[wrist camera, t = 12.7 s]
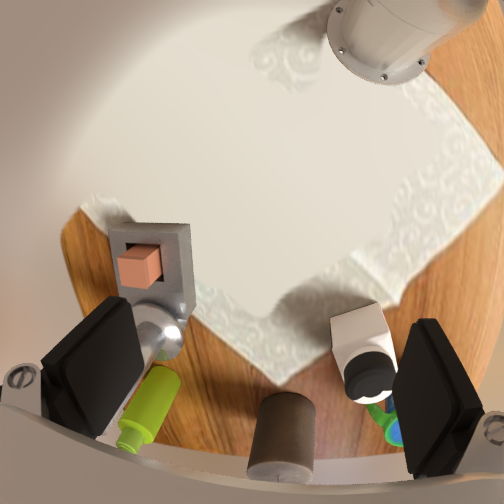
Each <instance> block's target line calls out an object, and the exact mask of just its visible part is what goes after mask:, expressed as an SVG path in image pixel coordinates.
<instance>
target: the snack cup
mask: <svg viewBox="0 0 504 504" xmlns="http://www.w3.org/2000/svg"><path fill="white" fill-rule="evenodd" d="M396 373H397V372H396ZM366 406H367V409H368V411H369V413H370V415H371V417H372V418H373V419H374V420H375V422H376V423H377V424H378V425H380V426H381V427H382V428H384V429H383V431H384V437H385V439H386V441H387V442H388V443H390V444H392V445H394V446H399V447H403V442H402V437H401V432H400V427H399V423H398V418H397V414H396V409H395V405H394V401H393V397H392V393H391V394H390V395H389V396H388V397H386V398H385V407H386V408H385V412H384V411H383V410H382V409H381V408H380V407H379V406H378V405H377V404H376V403H371V404H366Z"/></svg>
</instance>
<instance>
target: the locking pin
mask: <svg viewBox="0 0 504 504" xmlns="http://www.w3.org/2000/svg"><path fill="white" fill-rule="evenodd" d="M117 261H118V268H119V274H120V280H121V286H128V287H135V288H142V289H148V288H149V287H150V286H151V285H152V283H153V282H154V281H155V280H156V279H157V278H158V277H159V276H160V275H161V274H162V273H163V266H162V258H161V248H160V244H143V243H138V244H136V245H135V246H133V247H132V248H130V249H129V250H127V251H126V252H125V253H123V254H122V255H120V256H119V257H118V258H117Z"/></svg>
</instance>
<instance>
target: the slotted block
mask: <svg viewBox="0 0 504 504" xmlns="http://www.w3.org/2000/svg"><path fill="white" fill-rule="evenodd" d="M108 233H109V240H110V247H111V253H112V259H113V265H114V271H115V277H116V282H117V287H118V292H119V297H124V298H126V299H127V301H128V302H129V303H130V304H131V306H132V311H133V316H134V320H135V325H136V329H137V334H138V338H139V342H140V346H141V351H142V355H143V359H144V363H145V364H144V370H143V372H142V374H141V375H140V377H139V378H138V380H137V381H136V383H135V384H134V386H133V387H132V389H131V390H130V392H129V393H128V395H127V397H126V398H125V400H124V401H123V403H122V404H121V406H120V407H119V409H118V410H117V412H116V414H115V415H114V417H113V418H112V420H111V421H110V423H109V424H108V426H107V428H106V429H105V431H104V432H103V434H102V436H103V435H106V434H107V433H108V431H109V430H110V428H111V427H112V425H113V423H114V422H115V420H116V419H117V417H118V415H119V414H120V412H121V411H122V409H123V408H124V406H125V404H126V403H127V401H128V400H129V398H130V397H131V395H132V393H133V392H134V390H135V389H136V387H137V386H138V384H139V383H140V381H141V379H142V378H143V376H144V375H145V373H146V372H147V370H148V369H149V367H150V365H151V364H152V362H153V361H154V360H159V361H166V360H170V359H173V358H174V357H176V356H177V355H178V354H179V352H180V351H181V349H182V347H183V344H184V333H183V331H184V330H185V328H186V326H187V324H188V318H189V316H190V315H191V313H192V312H193V310H194V308H195V307H196V296H195V285H194V274H193V261H192V249H191V233H190V224H179V223H129V222H124V223H122V224H120V225H118V226H116V227H114V228H112V229H111V230H109V231H108ZM138 243H143V244H160V248H161V258H162V266H163V273H162V274H161V275H160V276H159V277H158V278H157V279H156V280H155V281H154V282H153V283H152V285H151V286H150V287H149V288H148V289H142V288H135V287H128V286H121V280H120V274H119V268H118V261H117V258H118V257H119V256H120V255H122V254H123V253H125V252H126V251H127V250H129V249H130V248H132V247H133V246H135V245H136V244H138Z"/></svg>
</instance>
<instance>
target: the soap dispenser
mask: <svg viewBox="0 0 504 504" xmlns="http://www.w3.org/2000/svg"><path fill="white" fill-rule="evenodd" d="M180 386H181V380H180V378H179V376H178V375H177V374H176V373H175V372H174V371H173V370H171V369H169V368H167V367H164V366H155V367H153V368H152V369H151V370H150V372H149V374H148V375H147V377H146V378H145V380H144V381H143V383H142V385H141V386H140V388H139V389H138V391H137V393H136V394H135V396H134V397H133V399H132V401H131V402H130V404H129V405H128V407H127V409H126V410H125V412H124V413H123V415H122V417H121V418H120V420H119V421H118V426H119V428H120V429H121V431H122V433H121V435H120V436H119V438H118V440H117V442H116V446H117V447H118V449H121V450H124V451H127V452H130V453H133V454H137V453H138V451H139V449H140V447H141V445H142V443H143V444H150V443H152V442H153V440H154V438H155V436H156V434H157V432H158V430H159V428H160V426H161V424H162V422H163V420H164V418H165V416H166V414H167V412H168V410H169V408H170V406H171V404H172V402H173V400H174V398H175V396H176V394H177V392H178V390H179V388H180Z"/></svg>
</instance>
